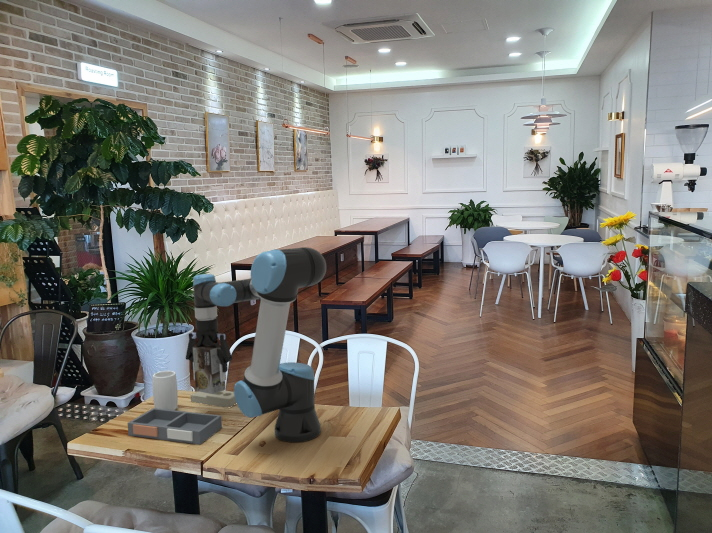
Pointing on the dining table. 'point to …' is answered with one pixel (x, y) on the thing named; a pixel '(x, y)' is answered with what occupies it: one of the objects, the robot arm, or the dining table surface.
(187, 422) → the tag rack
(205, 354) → the coffee box
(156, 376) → the cup
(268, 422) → the dining table surface
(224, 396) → the electrical outlet
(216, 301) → the robot arm
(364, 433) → the dining table surface
